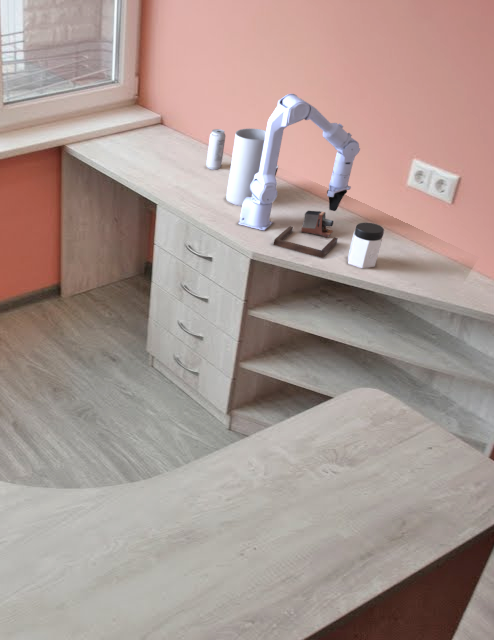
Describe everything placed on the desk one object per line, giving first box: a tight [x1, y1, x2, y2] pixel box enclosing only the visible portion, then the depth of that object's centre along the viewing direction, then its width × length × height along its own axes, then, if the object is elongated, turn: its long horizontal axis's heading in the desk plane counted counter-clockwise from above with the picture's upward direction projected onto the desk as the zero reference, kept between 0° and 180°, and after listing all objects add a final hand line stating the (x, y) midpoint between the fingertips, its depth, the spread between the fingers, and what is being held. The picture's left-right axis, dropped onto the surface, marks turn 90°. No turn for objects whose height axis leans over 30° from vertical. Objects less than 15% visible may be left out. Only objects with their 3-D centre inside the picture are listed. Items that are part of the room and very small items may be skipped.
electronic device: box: [300, 210, 334, 239], centre depth 270 cm, size 4×10×8 cm, turn 55°
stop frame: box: [273, 225, 338, 259], centre depth 264 cm, size 16×13×2 cm
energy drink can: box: [205, 128, 226, 171], centre depth 321 cm, size 6×6×15 cm
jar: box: [347, 222, 385, 269], centre depth 250 cm, size 9×8×12 cm
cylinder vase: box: [225, 128, 266, 207], centre depth 289 cm, size 12×12×25 cm
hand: (332, 209), depth 278 cm, fingers closed
